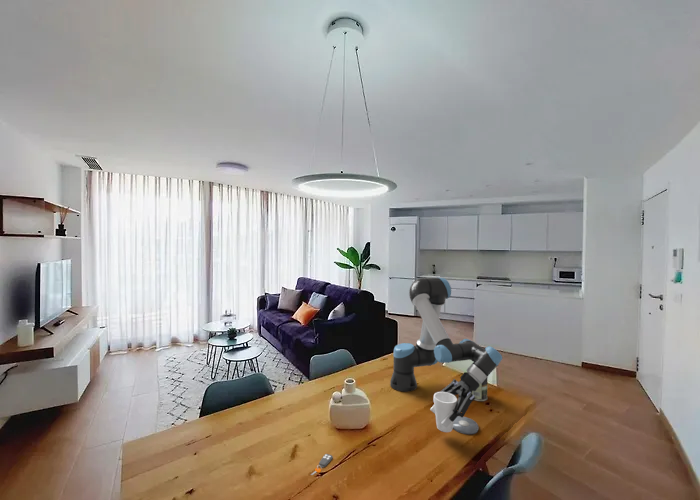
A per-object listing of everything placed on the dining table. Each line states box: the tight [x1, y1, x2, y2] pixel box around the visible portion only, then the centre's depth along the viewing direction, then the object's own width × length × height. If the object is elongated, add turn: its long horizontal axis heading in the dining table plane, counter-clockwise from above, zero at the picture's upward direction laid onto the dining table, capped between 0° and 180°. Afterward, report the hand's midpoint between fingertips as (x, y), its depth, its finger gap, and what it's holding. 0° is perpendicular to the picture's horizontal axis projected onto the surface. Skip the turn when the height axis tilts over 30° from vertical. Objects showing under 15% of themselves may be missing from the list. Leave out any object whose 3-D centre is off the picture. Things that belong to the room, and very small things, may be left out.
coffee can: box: [472, 376, 489, 402], centre depth 165 cm, size 10×10×14 cm
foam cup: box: [432, 391, 458, 433], centre depth 128 cm, size 10×9×13 cm
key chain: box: [310, 453, 334, 476], centre depth 111 cm, size 13×4×2 cm, turn 155°
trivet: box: [452, 416, 479, 435], centre depth 137 cm, size 12×12×1 cm
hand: (437, 418), depth 128 cm, fingers closed on foam cup, 9 cm apart
